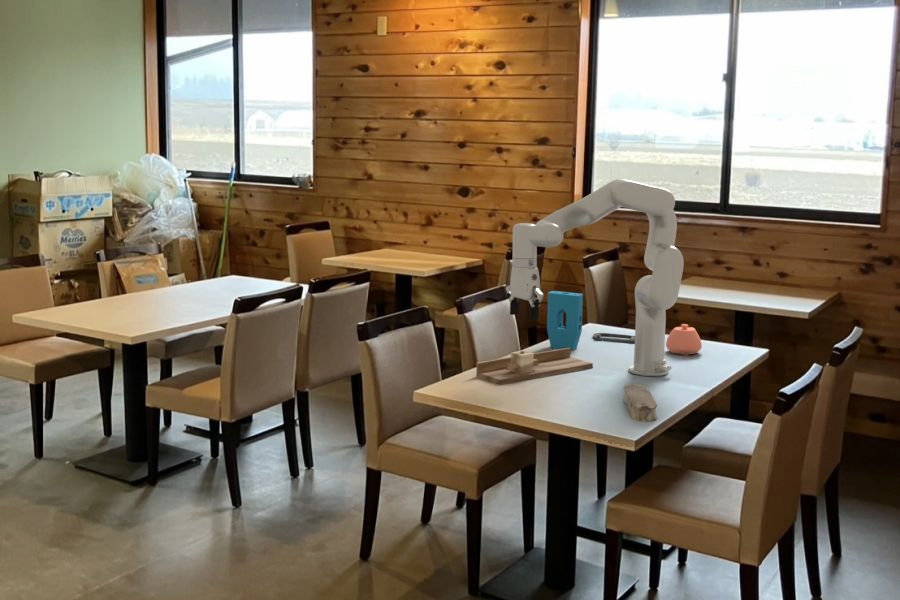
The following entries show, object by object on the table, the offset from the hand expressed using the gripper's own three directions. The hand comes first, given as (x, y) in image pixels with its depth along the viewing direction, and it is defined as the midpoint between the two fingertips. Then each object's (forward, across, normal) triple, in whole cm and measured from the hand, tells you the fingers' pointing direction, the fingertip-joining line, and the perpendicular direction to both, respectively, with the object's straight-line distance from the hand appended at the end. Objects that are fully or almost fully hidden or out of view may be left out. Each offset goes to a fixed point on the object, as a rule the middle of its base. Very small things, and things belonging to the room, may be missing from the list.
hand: (524, 316), depth 309 cm
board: (+19, +2, -6) cm, 21 cm away
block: (+20, +23, -38) cm, 48 cm away
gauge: (+18, 0, 0) cm, 18 cm away
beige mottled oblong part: (+20, -47, -4) cm, 51 cm away
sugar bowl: (+21, -5, -70) cm, 73 cm away
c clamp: (+21, +22, -63) cm, 70 cm away
